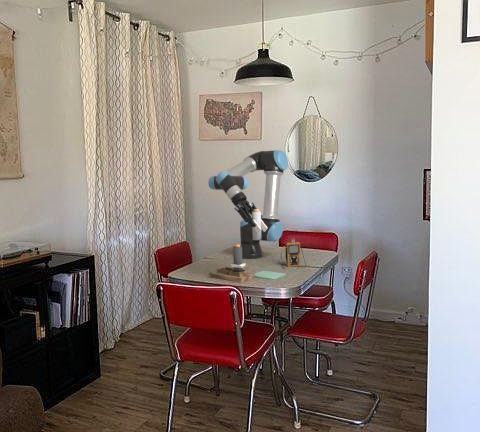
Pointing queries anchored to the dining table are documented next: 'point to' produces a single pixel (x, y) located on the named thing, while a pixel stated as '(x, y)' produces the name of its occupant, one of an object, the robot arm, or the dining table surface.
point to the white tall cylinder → (257, 217)
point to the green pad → (269, 275)
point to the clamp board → (232, 275)
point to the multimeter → (293, 253)
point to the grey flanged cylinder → (237, 259)
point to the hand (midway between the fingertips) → (262, 230)
